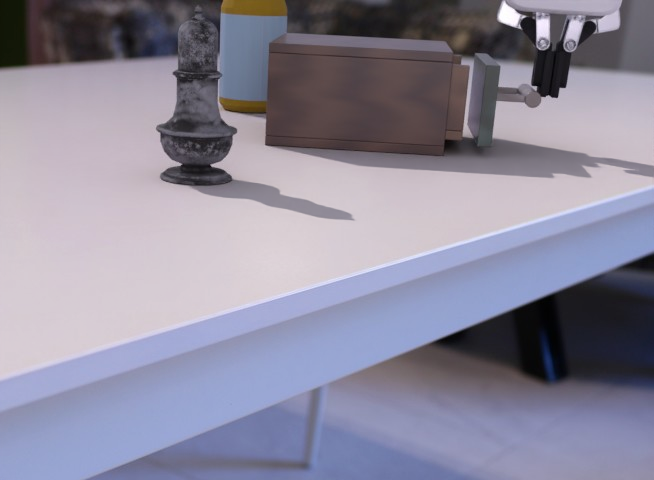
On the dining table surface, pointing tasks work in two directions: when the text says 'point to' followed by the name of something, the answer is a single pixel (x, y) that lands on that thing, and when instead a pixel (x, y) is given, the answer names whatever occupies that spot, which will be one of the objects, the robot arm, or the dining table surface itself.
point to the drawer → (481, 98)
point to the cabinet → (358, 93)
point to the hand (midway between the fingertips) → (546, 95)
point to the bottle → (248, 51)
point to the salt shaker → (196, 110)
